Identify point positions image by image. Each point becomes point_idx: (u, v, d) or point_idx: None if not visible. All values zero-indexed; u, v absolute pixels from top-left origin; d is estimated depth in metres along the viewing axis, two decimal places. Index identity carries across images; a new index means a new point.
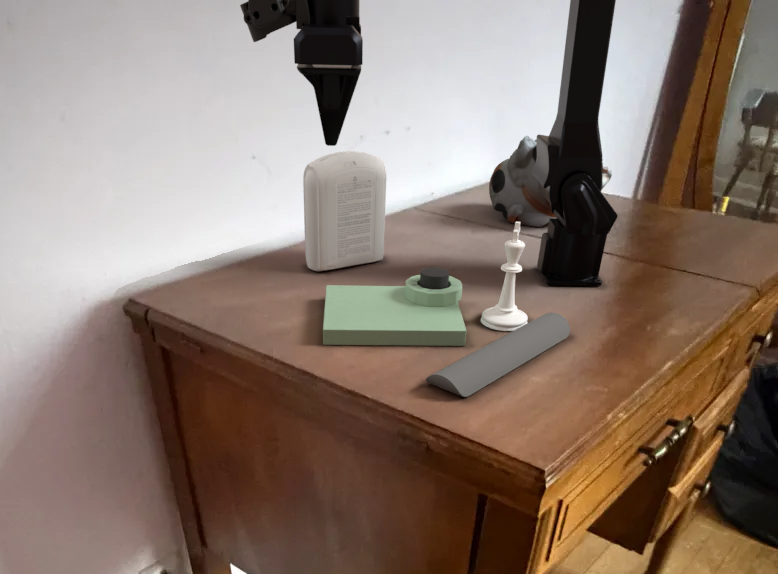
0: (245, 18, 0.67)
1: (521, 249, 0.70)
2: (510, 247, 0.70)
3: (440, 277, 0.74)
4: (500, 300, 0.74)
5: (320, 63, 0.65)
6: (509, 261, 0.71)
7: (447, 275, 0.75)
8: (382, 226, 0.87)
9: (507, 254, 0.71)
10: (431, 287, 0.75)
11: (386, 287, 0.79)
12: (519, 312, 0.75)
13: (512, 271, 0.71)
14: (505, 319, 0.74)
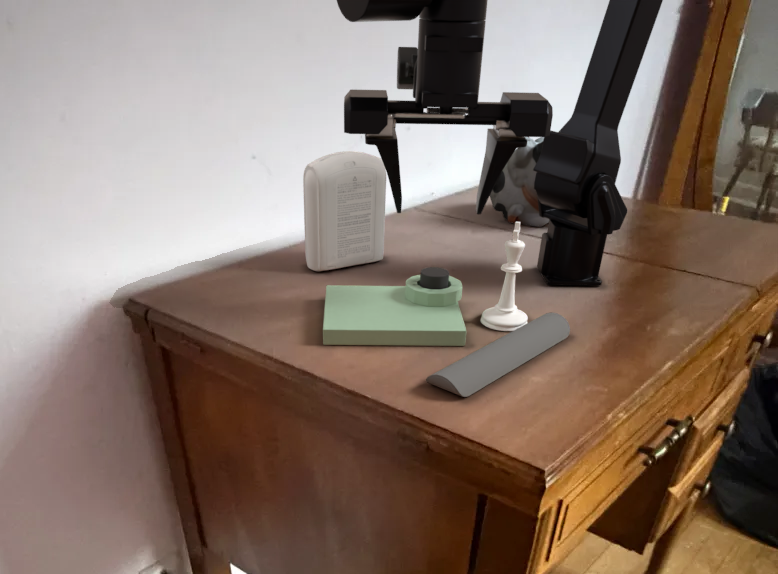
0: None
1: (521, 249, 0.70)
2: (510, 247, 0.70)
3: (440, 277, 0.74)
4: (500, 300, 0.74)
5: None
6: (509, 261, 0.71)
7: (447, 275, 0.75)
8: (382, 226, 0.87)
9: (507, 254, 0.71)
10: (431, 287, 0.75)
11: (386, 287, 0.79)
12: (519, 312, 0.75)
13: (512, 271, 0.71)
14: (505, 319, 0.74)
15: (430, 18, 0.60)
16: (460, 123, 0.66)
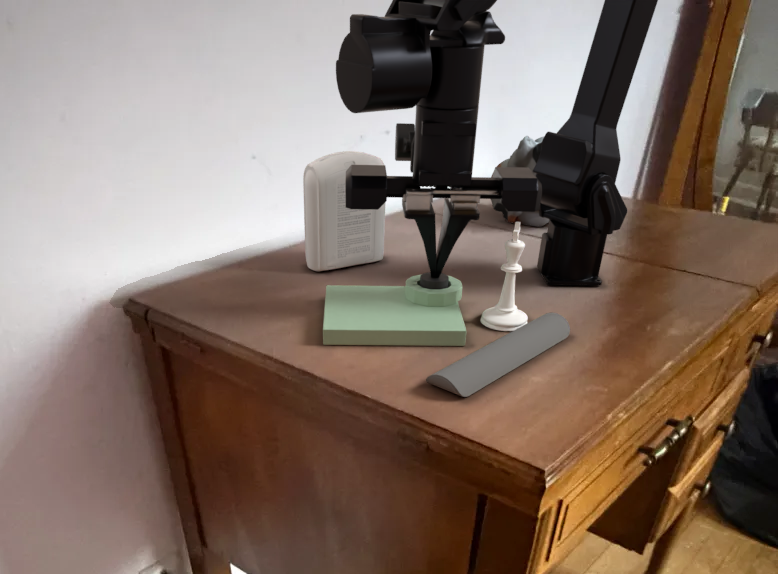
0: None
1: (521, 249, 0.70)
2: (510, 247, 0.70)
3: (440, 282, 0.74)
4: (500, 300, 0.74)
5: None
6: (509, 261, 0.71)
7: (447, 280, 0.75)
8: (382, 226, 0.87)
9: (507, 254, 0.71)
10: None
11: (386, 287, 0.79)
12: (519, 312, 0.75)
13: (512, 271, 0.71)
14: (505, 319, 0.74)
15: (426, 105, 0.64)
16: None
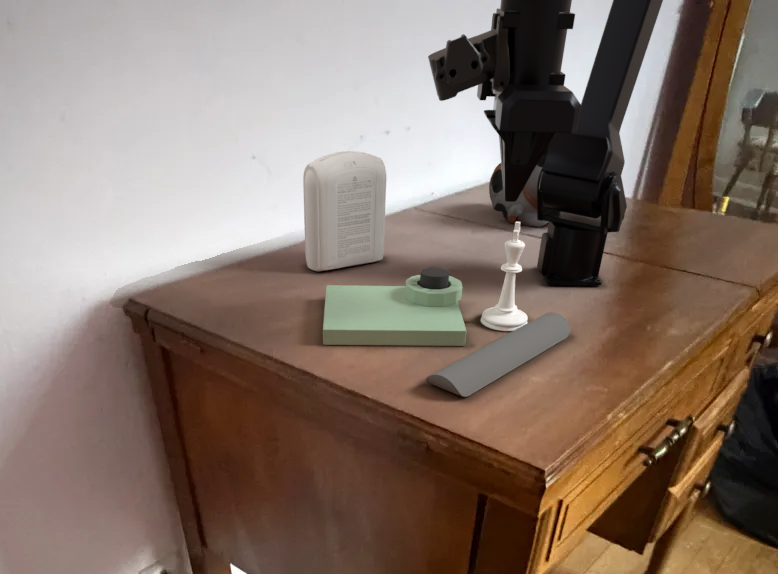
0: (438, 76, 0.59)
1: (521, 249, 0.70)
2: (510, 247, 0.70)
3: (440, 277, 0.74)
4: (500, 300, 0.74)
5: (530, 130, 0.57)
6: (509, 261, 0.71)
7: (447, 275, 0.75)
8: (382, 226, 0.87)
9: (507, 254, 0.71)
10: (431, 287, 0.75)
11: (386, 287, 0.79)
12: (519, 312, 0.75)
13: (512, 271, 0.71)
14: (505, 319, 0.74)
15: None
16: None
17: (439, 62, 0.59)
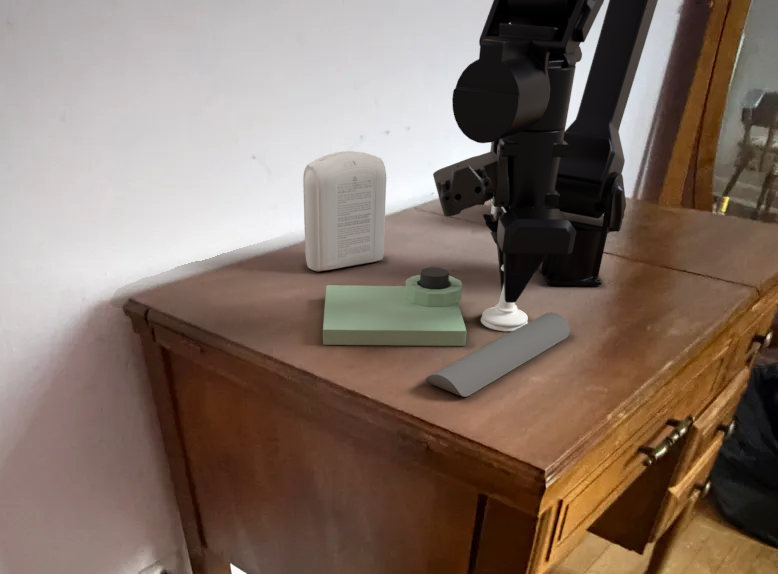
0: (444, 198, 0.65)
1: None
2: None
3: (440, 277, 0.74)
4: (500, 300, 0.74)
5: (530, 253, 0.62)
6: None
7: (447, 275, 0.75)
8: (382, 226, 0.87)
9: None
10: (431, 287, 0.75)
11: (386, 287, 0.79)
12: (519, 312, 0.75)
13: None
14: (505, 319, 0.74)
15: (560, 128, 0.63)
16: None
17: (445, 186, 0.64)
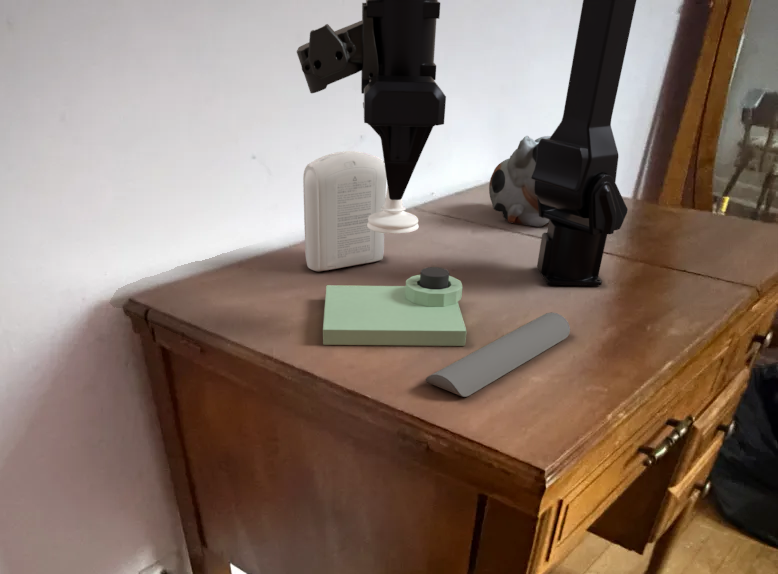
0: (303, 67, 0.57)
1: None
2: None
3: (440, 277, 0.74)
4: (386, 200, 0.67)
5: (395, 123, 0.55)
6: None
7: (447, 275, 0.75)
8: None
9: None
10: (431, 287, 0.75)
11: (386, 287, 0.79)
12: (408, 214, 0.68)
13: None
14: (390, 220, 0.66)
15: None
16: None
17: (304, 53, 0.57)
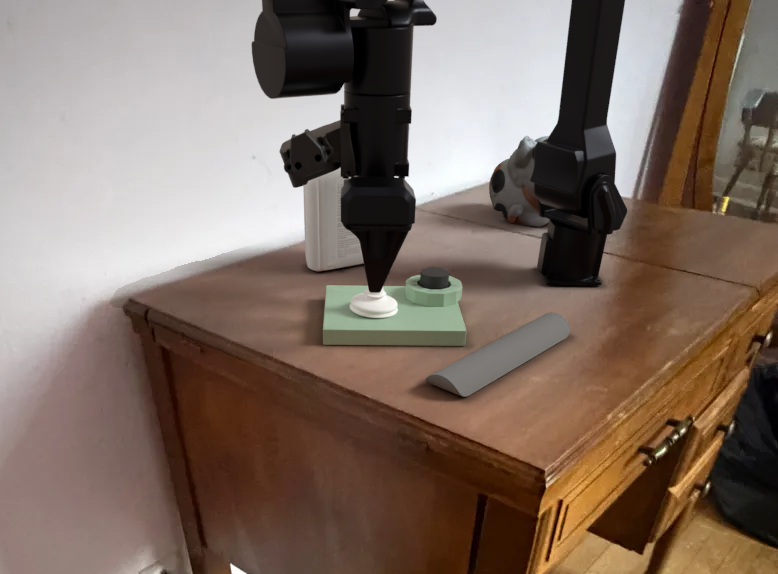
0: (285, 167, 0.62)
1: None
2: None
3: (440, 277, 0.74)
4: None
5: (369, 223, 0.59)
6: None
7: (447, 275, 0.75)
8: None
9: None
10: (431, 287, 0.75)
11: (386, 287, 0.79)
12: (388, 299, 0.73)
13: None
14: (371, 305, 0.71)
15: (401, 92, 0.60)
16: None
17: (286, 154, 0.62)
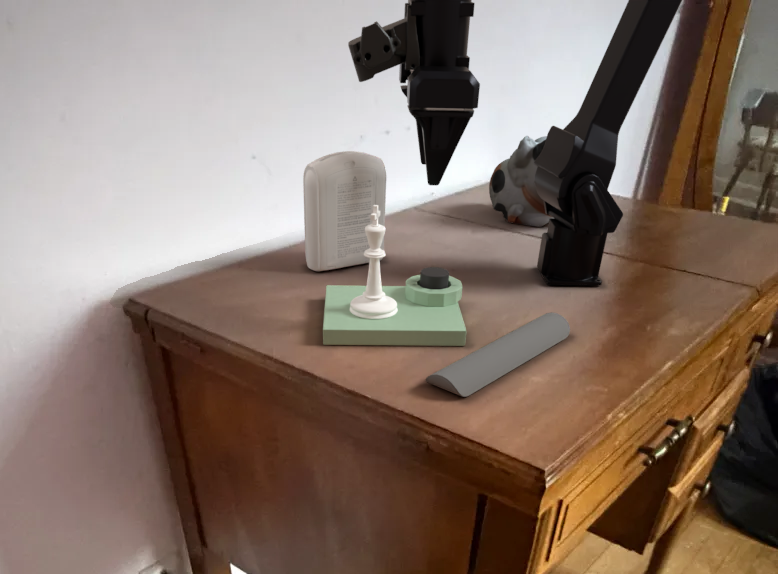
0: (355, 59, 0.66)
1: (381, 233, 0.68)
2: (369, 231, 0.68)
3: (440, 277, 0.74)
4: (366, 287, 0.72)
5: (436, 106, 0.64)
6: (371, 246, 0.69)
7: (447, 275, 0.75)
8: None
9: (368, 239, 0.69)
10: (431, 287, 0.75)
11: (386, 287, 0.79)
12: (388, 299, 0.73)
13: (374, 256, 0.69)
14: (371, 306, 0.71)
15: None
16: None
17: (356, 46, 0.66)
